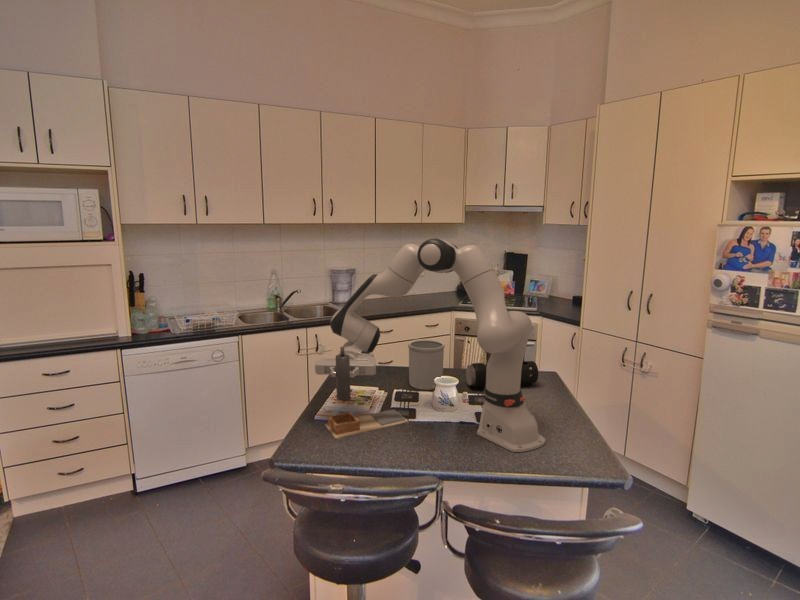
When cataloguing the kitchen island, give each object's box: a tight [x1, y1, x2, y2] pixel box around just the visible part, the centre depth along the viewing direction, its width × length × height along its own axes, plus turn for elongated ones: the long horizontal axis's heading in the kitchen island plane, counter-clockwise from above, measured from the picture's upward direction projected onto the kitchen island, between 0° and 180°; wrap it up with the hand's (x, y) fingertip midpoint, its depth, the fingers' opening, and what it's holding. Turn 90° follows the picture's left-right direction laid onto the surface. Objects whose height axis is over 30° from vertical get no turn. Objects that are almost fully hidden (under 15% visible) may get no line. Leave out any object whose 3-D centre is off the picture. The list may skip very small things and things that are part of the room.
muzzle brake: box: [465, 360, 539, 389], centre depth 192 cm, size 10×28×10 cm, turn 100°
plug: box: [335, 346, 351, 402], centre depth 149 cm, size 4×4×17 cm
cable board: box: [323, 408, 410, 439], centre depth 156 cm, size 11×26×4 cm, turn 118°
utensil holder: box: [407, 338, 445, 391], centre depth 194 cm, size 15×15×18 cm
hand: (342, 375), depth 149 cm, fingers closed on plug, 4 cm apart
